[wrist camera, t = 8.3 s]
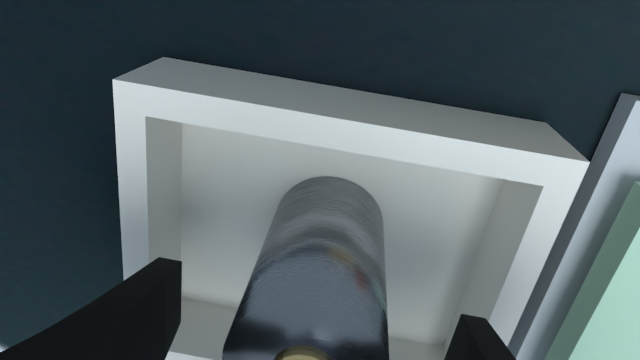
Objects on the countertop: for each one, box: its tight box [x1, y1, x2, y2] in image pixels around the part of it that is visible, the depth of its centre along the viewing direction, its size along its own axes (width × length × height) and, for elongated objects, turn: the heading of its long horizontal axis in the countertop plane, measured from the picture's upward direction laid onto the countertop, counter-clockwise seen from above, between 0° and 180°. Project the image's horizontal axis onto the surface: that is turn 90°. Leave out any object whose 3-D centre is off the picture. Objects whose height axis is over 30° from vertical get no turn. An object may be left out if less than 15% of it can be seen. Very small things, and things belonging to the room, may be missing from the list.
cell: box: [222, 176, 389, 360], centre depth 12 cm, size 4×4×6 cm
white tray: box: [112, 57, 590, 360], centre depth 14 cm, size 10×12×3 cm
